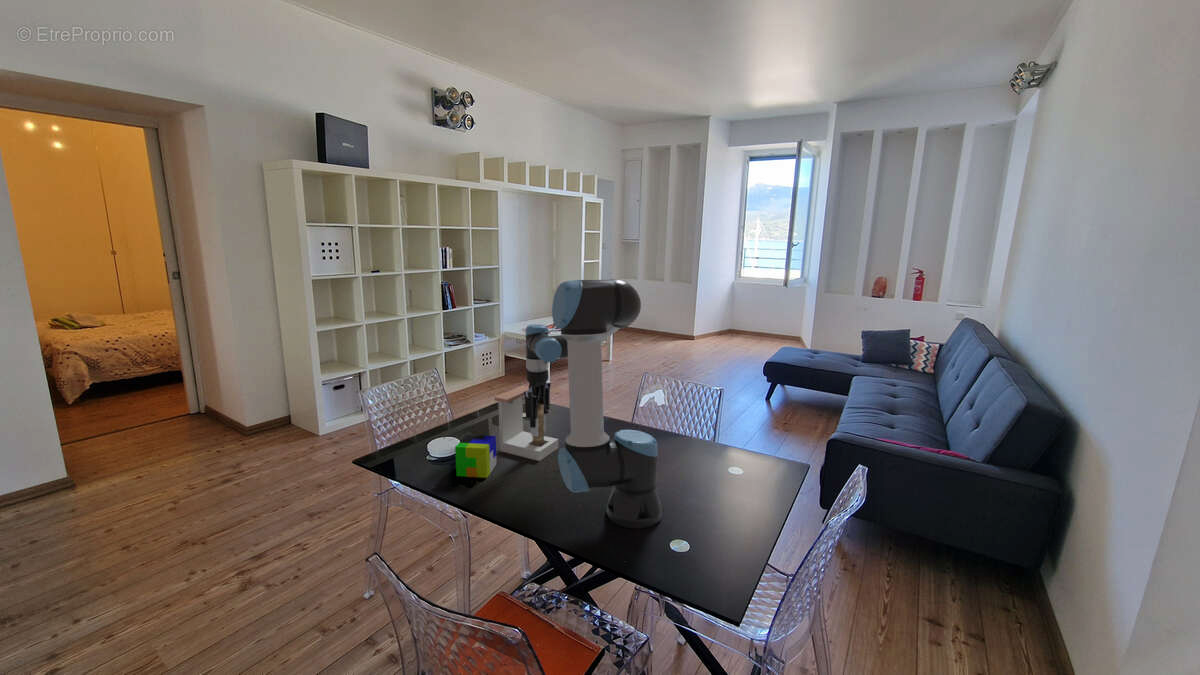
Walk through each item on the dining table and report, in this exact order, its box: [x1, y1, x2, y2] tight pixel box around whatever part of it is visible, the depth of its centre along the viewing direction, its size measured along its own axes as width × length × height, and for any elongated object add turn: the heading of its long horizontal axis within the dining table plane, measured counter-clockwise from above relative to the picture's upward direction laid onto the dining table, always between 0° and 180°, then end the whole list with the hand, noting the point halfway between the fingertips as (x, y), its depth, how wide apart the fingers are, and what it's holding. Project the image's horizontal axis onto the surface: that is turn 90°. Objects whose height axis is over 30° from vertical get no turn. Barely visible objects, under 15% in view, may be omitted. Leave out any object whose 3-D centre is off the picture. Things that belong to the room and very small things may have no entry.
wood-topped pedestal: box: [494, 385, 529, 443], centre depth 177 cm, size 16×6×17 cm, turn 153°
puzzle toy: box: [454, 434, 497, 479], centre depth 160 cm, size 10×10×10 cm
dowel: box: [533, 403, 545, 447], centre depth 173 cm, size 4×4×15 cm
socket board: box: [499, 430, 559, 462], centre depth 176 cm, size 12×17×4 cm
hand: (538, 433), depth 173 cm, fingers closed on dowel, 4 cm apart
